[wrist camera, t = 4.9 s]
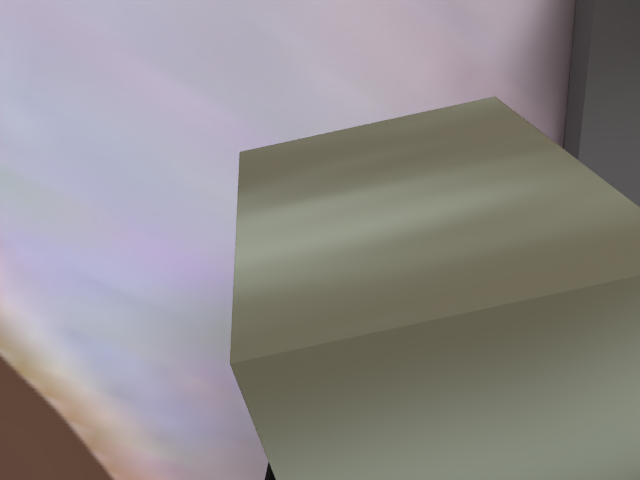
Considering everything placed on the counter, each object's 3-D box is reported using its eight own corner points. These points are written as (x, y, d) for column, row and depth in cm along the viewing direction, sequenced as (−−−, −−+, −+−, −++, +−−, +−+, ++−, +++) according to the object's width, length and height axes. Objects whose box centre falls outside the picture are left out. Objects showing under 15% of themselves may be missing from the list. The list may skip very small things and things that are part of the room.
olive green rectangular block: (494, 488, 16) (584, 703, 11) (346, 520, 16) (381, 746, 11) (494, 96, 9) (707, 260, 5) (240, 151, 9) (229, 363, 5)
